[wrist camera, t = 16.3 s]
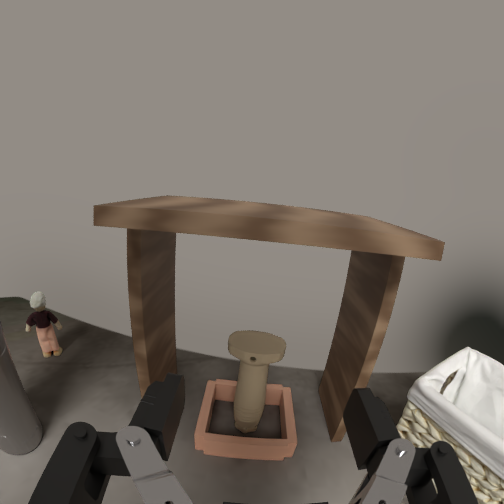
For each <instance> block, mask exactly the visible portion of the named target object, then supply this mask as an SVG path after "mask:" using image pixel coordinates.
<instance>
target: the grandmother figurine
mask: <svg viewBox="0 0 504 504" xmlns="http://www.w3.org/2000/svg"><path fill="white" fill-rule="evenodd" d="M30 304H31V306H32V307H33V308H34V309H35V310H36V311H37V312H34V313H32V314H31V315H30V316H29V317H28V319H27V321H26V323H27V325H26V331H27V332H30V331H31V329H30V328H31V326H33V325H35V324H36V330H37V335H38V339H39V342H40V345H41V348H42V351H43V355H44V357H46V358H47V357H50V356H51V351H54V355H55V356H59V355H60V354H61V352H62V348H61V347H59V345H58V341H57V339H56V335H55V332H54V329H53V326H52V325H51V323H50V321H52V322H53V323H54V324H55V325H56V326H57V328H58V329H59V330H61V329H62V325H60V322H59V321H58V319H57V318H56V317H55V316H54V315H53V314H52V313H51V312H50V311H46V310H44V309H45V305H46V300H45V296H44V294H43V293H42V292H35V293H34V294H33V295H32V296H31V300H30Z"/></svg>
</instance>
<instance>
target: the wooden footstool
mask: <svg viewBox="0 0 504 504" xmlns="http://www.w3.org/2000/svg"><path fill="white" fill-rule="evenodd" d="M94 226H105V227H118V228H127V270H128V291H129V306H130V318H131V329H132V338H133V346H134V354H135V361H136V368H137V374H138V380H139V386H140V392H141V397H142V398H143V396H144V394H145V392H146V390H147V388H148V386H149V385H151V384H152V383H153V382H155V381H160V382H163V381H164V379H165V377H166V375H167V373H173V374H177V363H176V342H175V341H176V340H175V247H176V233H187V234H198V235H209V236H219V237H229V238H239V239H249V240H259V241H269V242H279V243H288V244H298V245H307V246H317V247H326V248H336V249H345V250H352V251H351V257H350V263H349V268H348V274H347V279H346V284H345V289H344V294H343V298H342V303H341V308H340V312H339V317H338V320H337V325H336V329H335V333H334V337H333V341H332V345H331V349H330V352H329V356H328V359H327V363H326V367H325V370H324V373H323V377H322V380H321V383H320V387H319V390H318V391H319V395H320V399H321V403H322V407H323V411H324V415H325V419H326V423H327V427H328V431H329V435H330V439H331V442H337V441H341V440H342V439H343V437H344V435H345V433H346V427H345V424H344V421H343V412H344V409H345V406H346V404H347V402H348V400H349V397H350V395H351V393H352V390H353V389H354V388H366V386H367V384H368V381H369V378H370V376H371V373H372V370H373V368H374V365H375V363H376V360H377V357H378V354H379V351H380V348H381V346H382V343H383V339H384V336H385V333H386V330H387V327H388V323H389V320H390V316H391V313H392V309H393V306H394V302H395V298H396V295H397V291H398V287H399V282H400V278H401V274H402V270H403V265H404V260H405V257H414V258H422V259H430V260H439V261H441V259H442V254H443V249H444V244H445V242H442V241H440V240H437V239H434V238H431V237H428V236H425V235H422V234H420V233H417V232H414V231H411V230H408V229H405V228H402V227H399V226H395V225H393V224H390V223H386V222H383V221H380V220H377V219H374V218H370V217H367V216H361V215H354V214H347V213H340V212H333V211H326V210H318V209H310V208H302V207H294V206H285V205H276V204H267V203H256V202H246V201H235V200H224V199H211V198H196V197H183V196H160V197H151V198H143V199H136V200H128V201H121V202H115V203H108V204H101V205H95V206H94Z"/></svg>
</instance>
